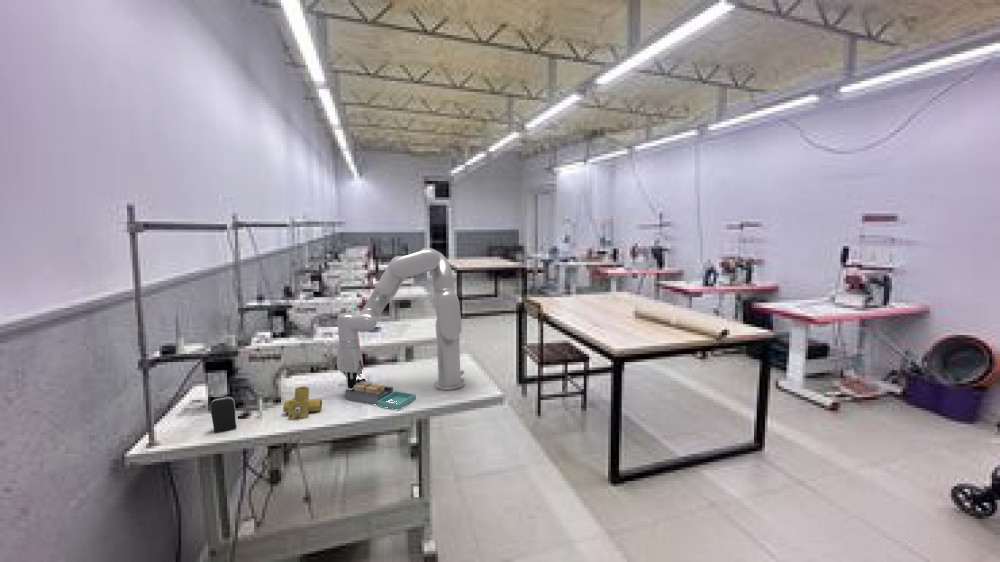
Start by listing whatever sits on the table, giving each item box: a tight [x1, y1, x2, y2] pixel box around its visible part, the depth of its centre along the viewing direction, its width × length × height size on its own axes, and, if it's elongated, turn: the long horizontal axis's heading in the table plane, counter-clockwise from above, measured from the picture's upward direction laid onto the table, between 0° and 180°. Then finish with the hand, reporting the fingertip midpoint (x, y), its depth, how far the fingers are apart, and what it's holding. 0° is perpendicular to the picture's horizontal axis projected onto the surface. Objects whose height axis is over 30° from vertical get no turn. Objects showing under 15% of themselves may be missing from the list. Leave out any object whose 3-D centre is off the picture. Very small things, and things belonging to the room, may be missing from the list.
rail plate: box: [344, 385, 394, 406], centre depth 177 cm, size 9×16×4 cm, turn 66°
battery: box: [210, 395, 237, 433], centre depth 152 cm, size 7×4×11 cm, turn 116°
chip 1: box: [353, 380, 373, 392], centre depth 178 cm, size 5×5×2 cm
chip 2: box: [366, 382, 385, 394], centre depth 175 cm, size 5×5×2 cm
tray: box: [376, 390, 417, 410], centre depth 171 cm, size 11×10×2 cm
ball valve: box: [282, 385, 323, 421], centre depth 163 cm, size 13×10×10 cm
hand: (352, 387), depth 180 cm, fingers closed
